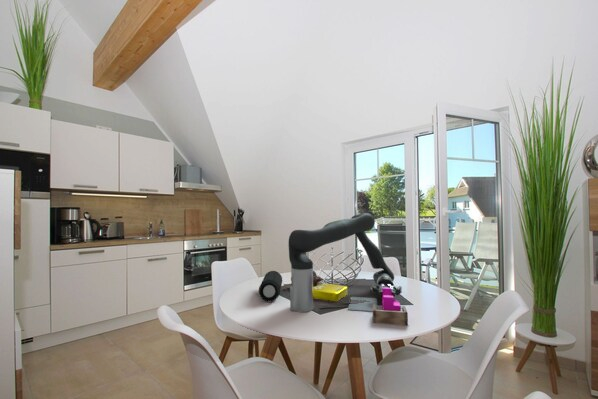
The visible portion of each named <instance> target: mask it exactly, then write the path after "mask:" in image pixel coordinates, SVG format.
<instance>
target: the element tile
mask: <svg viewBox="0 0 598 399" xmlns="http://www.w3.org/2000/svg"><path fill="white" fill-rule="evenodd" d="M346 295H347V296H348V286H347V285H339V284H332V283H324V282H321V283H319V284H317V286H315V287H313V298H318V299H323V300H322V301H325V300H330V301H329V302H331V301H338V300H340V299H341V298H343V297H344V298H346V297H347V296H346ZM344 298H343V299H344ZM318 299H317V300H318ZM341 300H342V299H341ZM341 300H340V301H341ZM338 302H339V301H338Z"/></svg>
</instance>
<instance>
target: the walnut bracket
mask: <svg viewBox="0 0 598 399" xmlns="http://www.w3.org/2000/svg"><path fill="white" fill-rule="evenodd" d="M401 307H402V308H401V309H402V310H401V311H387V310H383V309H378V310H376V305H375V304H373V312H372V322H373V323H374V324H382V325H383V324H384V325H395V326H396V325H397V326H409V320H408V318H409V317H408V315H409V314H408V310H407V307H406V305H401Z"/></svg>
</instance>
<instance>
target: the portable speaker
mask: <svg viewBox="0 0 598 399" xmlns="http://www.w3.org/2000/svg"><path fill="white" fill-rule="evenodd" d="M282 284H283V276H282V275H281V274H280V272H278V271H276V270H269V271H268V272H266V273H265V275H264V277H263V279H262V280H261V282H260V285H259V286H258V294H259V297H260V298H261V299H262V300H264V301H266V302H272V301H276V299H278V297H279V296H280V295H281V294H280V293H281V290H282V286H283V285H282Z"/></svg>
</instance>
